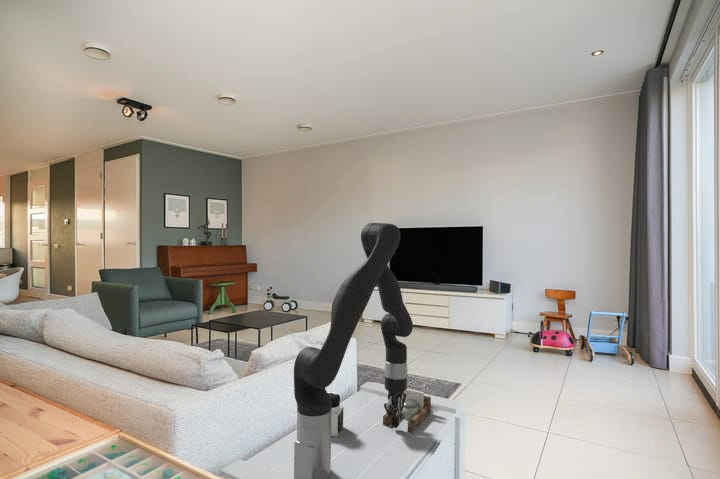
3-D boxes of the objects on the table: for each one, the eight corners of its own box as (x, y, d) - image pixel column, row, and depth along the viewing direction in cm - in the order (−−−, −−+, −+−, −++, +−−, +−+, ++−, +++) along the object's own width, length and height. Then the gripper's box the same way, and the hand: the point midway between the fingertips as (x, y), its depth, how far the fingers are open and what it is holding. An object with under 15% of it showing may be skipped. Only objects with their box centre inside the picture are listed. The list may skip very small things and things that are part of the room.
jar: (414, 422, 136) (414, 407, 136) (397, 418, 139) (398, 403, 139) (420, 415, 141) (421, 401, 141) (405, 411, 144) (405, 398, 144)
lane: (411, 432, 128) (411, 414, 128) (382, 424, 134) (382, 407, 134) (430, 413, 143) (430, 396, 143) (403, 406, 149) (403, 390, 149)
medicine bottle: (338, 437, 125) (338, 399, 125) (316, 434, 126) (317, 397, 126) (343, 426, 132) (343, 391, 132) (323, 424, 133) (323, 389, 133)
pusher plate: (422, 415, 141) (422, 393, 141) (403, 410, 145) (404, 389, 145) (429, 408, 147) (429, 387, 147) (411, 404, 151) (411, 383, 151)
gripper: (397, 382, 122) (396, 437, 122) (414, 371, 134) (413, 421, 134) (376, 378, 126) (375, 431, 126) (394, 367, 138) (393, 416, 137)
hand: (395, 426), depth 130 cm, fingers closed
